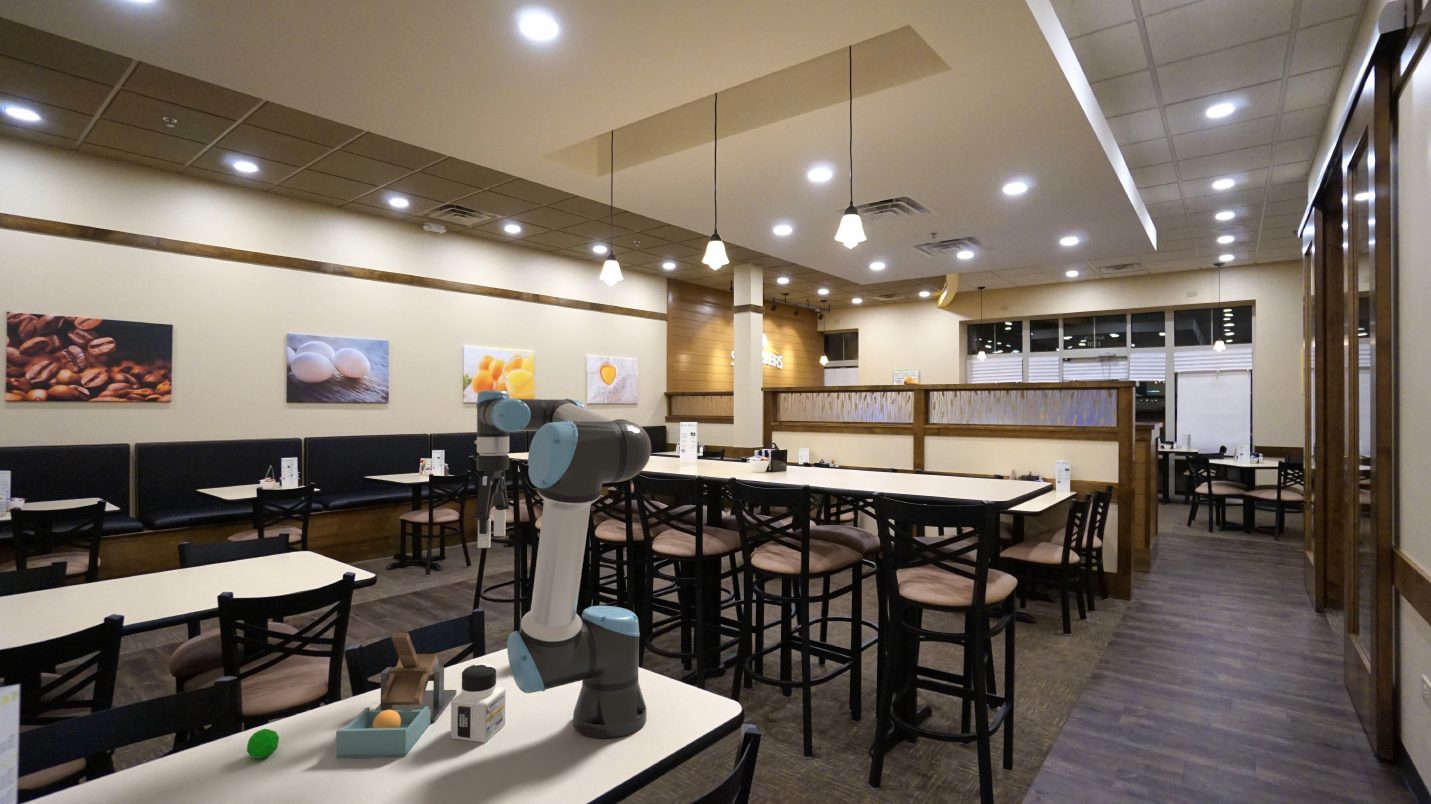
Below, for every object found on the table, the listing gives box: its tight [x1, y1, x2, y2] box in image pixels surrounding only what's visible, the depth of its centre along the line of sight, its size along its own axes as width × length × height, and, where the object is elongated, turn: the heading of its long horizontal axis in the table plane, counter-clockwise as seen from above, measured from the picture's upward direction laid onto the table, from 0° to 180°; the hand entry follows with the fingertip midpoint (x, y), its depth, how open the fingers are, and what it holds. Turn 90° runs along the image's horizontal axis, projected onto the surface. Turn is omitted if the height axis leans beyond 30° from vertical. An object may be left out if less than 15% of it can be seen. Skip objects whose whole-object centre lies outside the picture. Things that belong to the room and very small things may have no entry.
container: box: [450, 662, 506, 743], centre depth 133 cm, size 8×8×13 cm
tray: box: [335, 706, 431, 759], centre depth 129 cm, size 13×13×5 cm
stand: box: [374, 665, 457, 724], centre depth 143 cm, size 14×14×8 cm
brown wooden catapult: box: [380, 632, 440, 705], centre depth 139 cm, size 12×9×17 cm
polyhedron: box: [246, 728, 280, 760], centre depth 123 cm, size 5×5×5 cm
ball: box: [373, 710, 401, 728], centre depth 130 cm, size 5×5×5 cm
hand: (492, 541), depth 160 cm, fingers open, 13 cm apart
